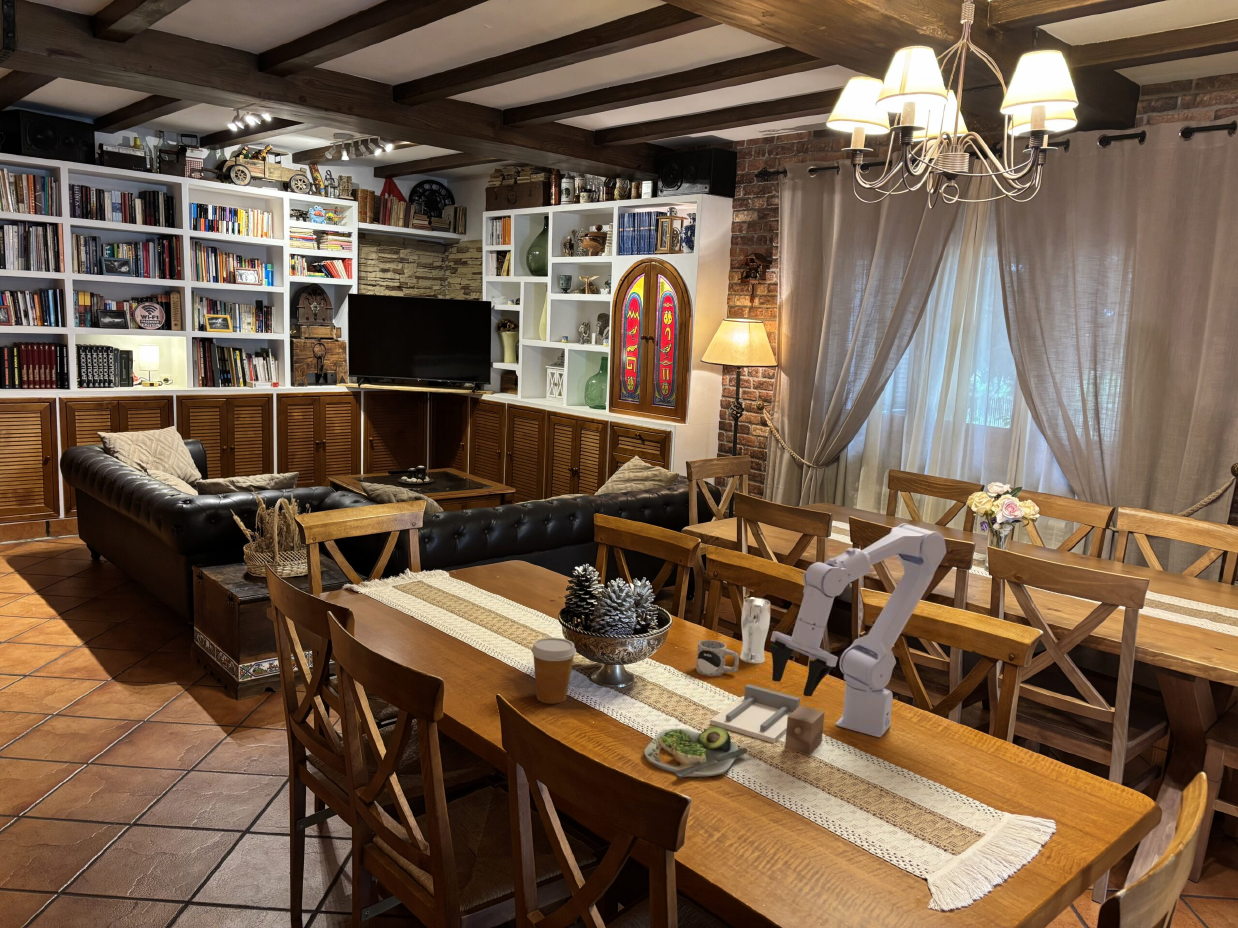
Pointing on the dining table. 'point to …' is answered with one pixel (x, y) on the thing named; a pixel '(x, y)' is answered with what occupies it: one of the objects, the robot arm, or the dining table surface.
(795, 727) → the cabinet block
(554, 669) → the disposable coffee cup
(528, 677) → the dining table surface
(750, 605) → the beer glass
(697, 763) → the avocado toast plate
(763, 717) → the cleat board
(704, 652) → the mug
